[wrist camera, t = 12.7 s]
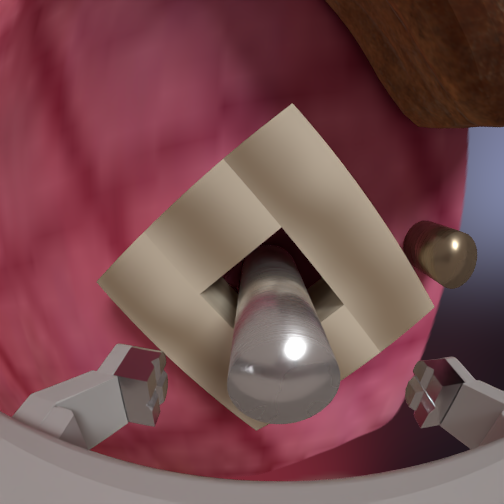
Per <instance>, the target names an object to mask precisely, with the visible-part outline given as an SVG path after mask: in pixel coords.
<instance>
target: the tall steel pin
mask: <svg viewBox="0 0 504 504" xmlns="http://www.w3.org/2000/svg"><path fill="white" fill-rule="evenodd" d="M339 384H340V369H339V366H338V363H337V361H336V358H335V356H334V354H333V351H332V349H331V346H330V344H329V341H328V339H327V337H326V334H325V332H324V329H323V327H322V325H321V322H320V320H319V317H318V315H317V313H316V310H315V308H314V306H313V303H312V301H311V299H310V296H309V294H308V292H307V289H306V287H305V285H304V282H303V280H302V278H301V275H300V273H299V271H298V269H297V266H296V264H295V262H294V260H293V258H292V256H291V255H290V254H289V253H288V252H287V251H286V250H285V249H283V248H281V247H279V246H276V245H263V246H260V247H257V248H256V249H254V250H253V251H252V252H251V253H249V254H248V255H247V257H246V258H245V260H244V263H243V267H242V274H241V282H240V289H239V296H238V303H237V311H236V318H235V326H234V333H233V341H232V348H231V356H230V363H229V371H228V378H227V390H228V394H229V397H230V399H231V401H232V403H233V404H234V405H235V406H236V408H237V409H238V410H240V411H241V412H242V413H243V414H245V415H246V416H248V417H250V418H252V419H255V420H257V421H260V422H264V423H270V424H288V423H294V422H298V421H302V420H305V419H307V418H310V417H312V416H313V415H315V414H317V413H318V412H320V411H321V410H323V409H324V408H325V407H326V406H327V405H328V404H329V403H330V402H331V401H332V399H333V398H334V396H335V395H336V393H337V391H338V388H339Z"/></svg>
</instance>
